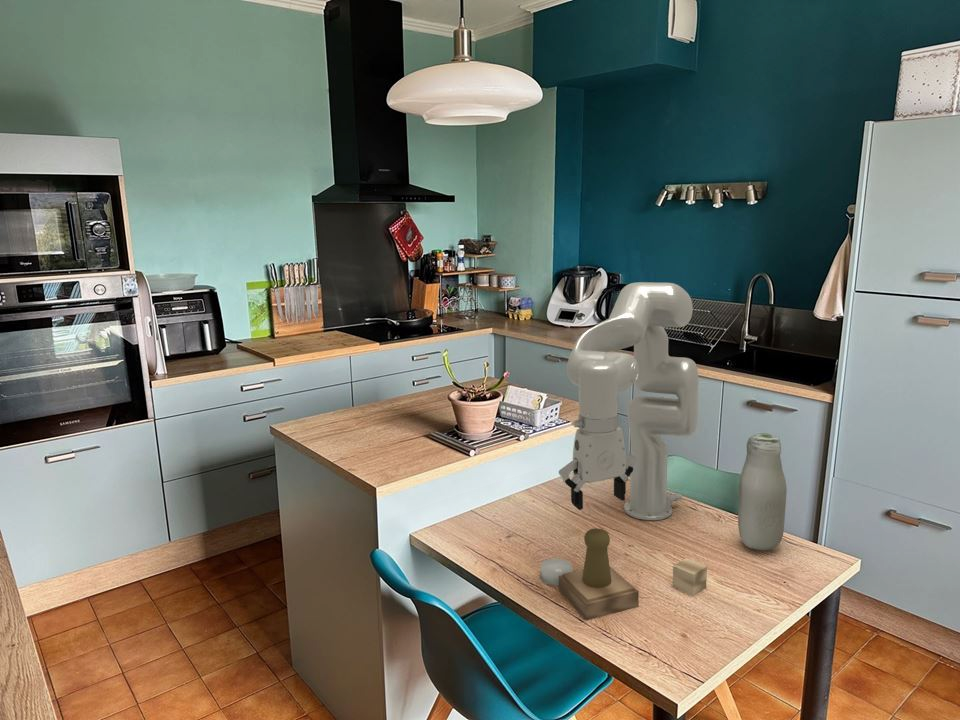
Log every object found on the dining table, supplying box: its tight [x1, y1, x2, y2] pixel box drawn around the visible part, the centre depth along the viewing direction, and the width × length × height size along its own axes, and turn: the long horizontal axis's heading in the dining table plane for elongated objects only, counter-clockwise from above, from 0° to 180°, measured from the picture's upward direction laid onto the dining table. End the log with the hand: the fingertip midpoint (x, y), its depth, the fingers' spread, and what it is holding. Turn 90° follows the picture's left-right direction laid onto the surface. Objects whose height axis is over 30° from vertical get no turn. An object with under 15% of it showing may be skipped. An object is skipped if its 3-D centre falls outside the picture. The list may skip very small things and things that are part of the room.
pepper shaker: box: [582, 527, 612, 588], centre depth 142 cm, size 6×6×11 cm
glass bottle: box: [737, 432, 788, 551], centre depth 160 cm, size 10×10×28 cm
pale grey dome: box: [540, 557, 574, 587], centre depth 152 cm, size 7×7×3 cm
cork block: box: [671, 557, 708, 597], centre depth 146 cm, size 5×5×5 cm
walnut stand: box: [558, 566, 640, 621], centre depth 143 cm, size 12×12×4 cm
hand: (598, 502), depth 140 cm, fingers open, 9 cm apart
